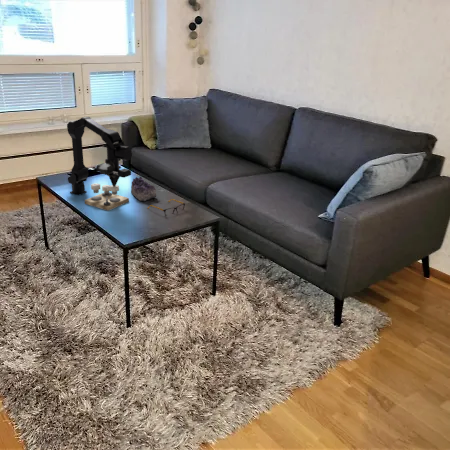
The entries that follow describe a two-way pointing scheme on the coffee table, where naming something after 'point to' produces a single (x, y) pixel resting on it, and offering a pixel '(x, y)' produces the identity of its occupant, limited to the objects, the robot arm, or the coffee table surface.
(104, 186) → the knob
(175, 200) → the eyeglasses
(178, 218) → the coffee table surface
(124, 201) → the panel
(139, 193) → the geode
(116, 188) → the knob
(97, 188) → the knob
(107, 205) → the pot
